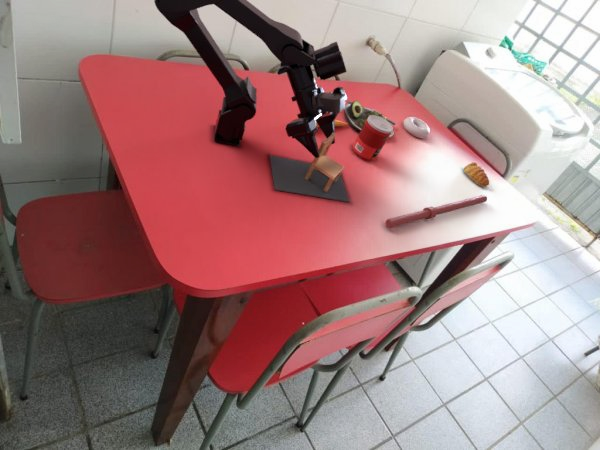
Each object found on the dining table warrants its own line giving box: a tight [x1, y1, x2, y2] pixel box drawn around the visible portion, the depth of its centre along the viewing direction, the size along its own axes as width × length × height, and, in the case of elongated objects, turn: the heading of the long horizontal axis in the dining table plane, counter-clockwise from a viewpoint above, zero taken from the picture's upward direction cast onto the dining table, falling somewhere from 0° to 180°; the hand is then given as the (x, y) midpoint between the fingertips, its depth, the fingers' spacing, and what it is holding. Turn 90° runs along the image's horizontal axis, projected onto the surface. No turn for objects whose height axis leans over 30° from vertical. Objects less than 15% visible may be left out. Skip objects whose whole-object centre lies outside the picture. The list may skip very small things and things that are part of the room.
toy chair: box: [305, 133, 345, 192], centre depth 102 cm, size 7×7×12 cm
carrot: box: [315, 119, 350, 129], centre depth 125 cm, size 20×4×4 cm, turn 122°
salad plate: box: [343, 100, 396, 138], centre depth 136 cm, size 19×18×5 cm
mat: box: [268, 154, 351, 203], centre depth 104 cm, size 20×13×1 cm, turn 100°
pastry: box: [463, 161, 490, 188], centre depth 137 cm, size 9×7×4 cm
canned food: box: [352, 115, 394, 162], centre depth 119 cm, size 8×8×11 cm
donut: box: [403, 116, 431, 139], centre depth 145 cm, size 10×4×10 cm
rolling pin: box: [384, 194, 488, 229], centre depth 114 cm, size 45×3×3 cm, turn 124°
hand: (325, 150), depth 100 cm, fingers open, 9 cm apart
